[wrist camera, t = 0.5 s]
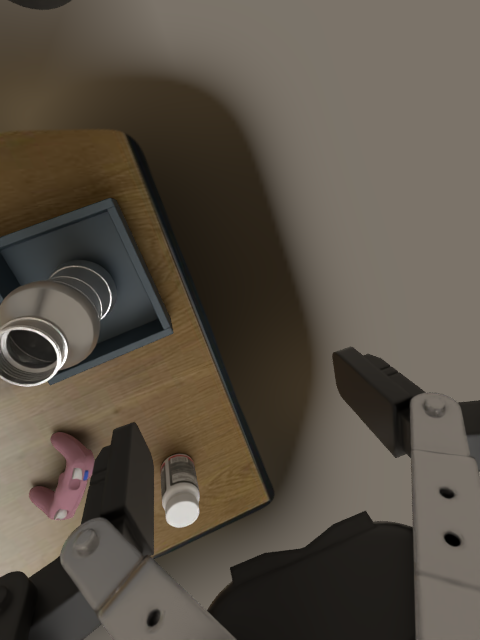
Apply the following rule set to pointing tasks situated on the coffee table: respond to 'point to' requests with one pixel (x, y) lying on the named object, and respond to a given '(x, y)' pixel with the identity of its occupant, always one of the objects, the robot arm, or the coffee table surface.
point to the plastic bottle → (53, 322)
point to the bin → (103, 249)
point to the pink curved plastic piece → (66, 479)
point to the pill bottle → (179, 490)
